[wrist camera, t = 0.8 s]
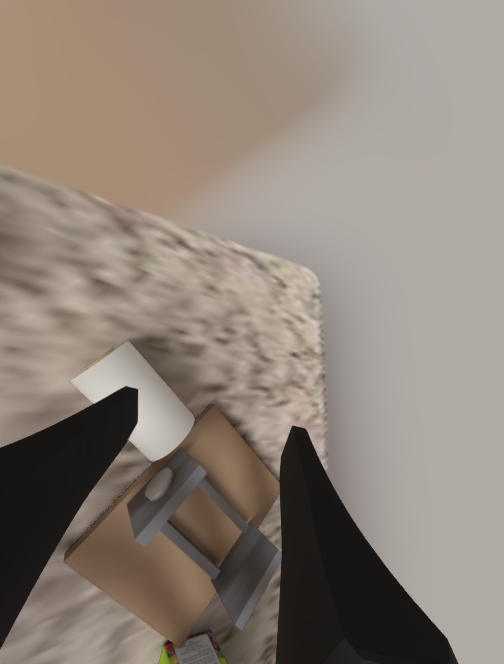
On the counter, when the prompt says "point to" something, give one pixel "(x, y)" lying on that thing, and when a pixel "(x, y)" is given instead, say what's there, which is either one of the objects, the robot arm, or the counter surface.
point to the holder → (187, 533)
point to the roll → (139, 399)
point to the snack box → (194, 651)
